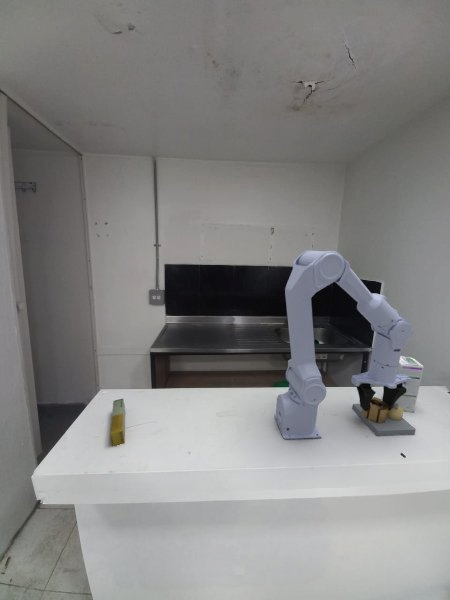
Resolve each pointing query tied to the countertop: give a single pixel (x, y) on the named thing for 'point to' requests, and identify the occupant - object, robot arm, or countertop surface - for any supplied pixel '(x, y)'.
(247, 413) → the countertop surface
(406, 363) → the syrup box
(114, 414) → the medication box
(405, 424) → the carrier plate
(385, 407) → the brown segmented ring
